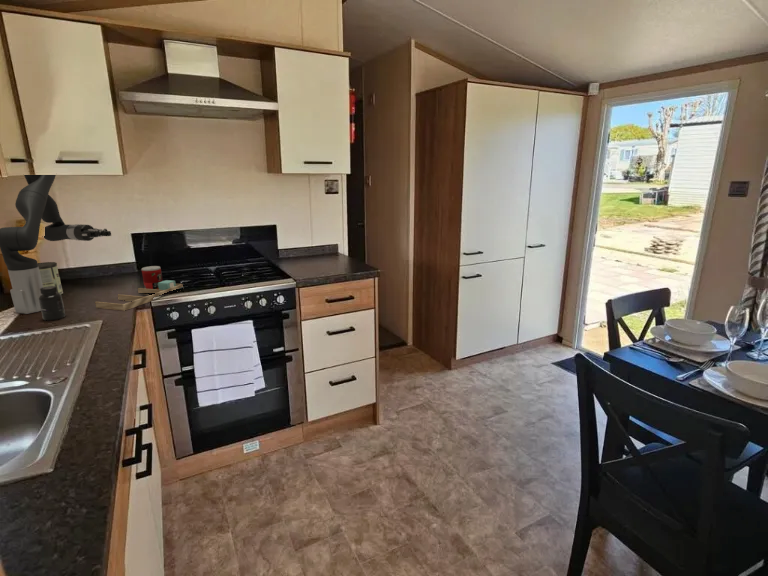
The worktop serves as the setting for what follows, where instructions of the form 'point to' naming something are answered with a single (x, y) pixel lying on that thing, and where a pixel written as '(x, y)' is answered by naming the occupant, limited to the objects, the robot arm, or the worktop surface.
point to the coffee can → (50, 275)
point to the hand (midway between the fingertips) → (109, 233)
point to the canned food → (151, 277)
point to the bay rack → (135, 299)
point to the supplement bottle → (51, 304)
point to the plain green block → (166, 284)
